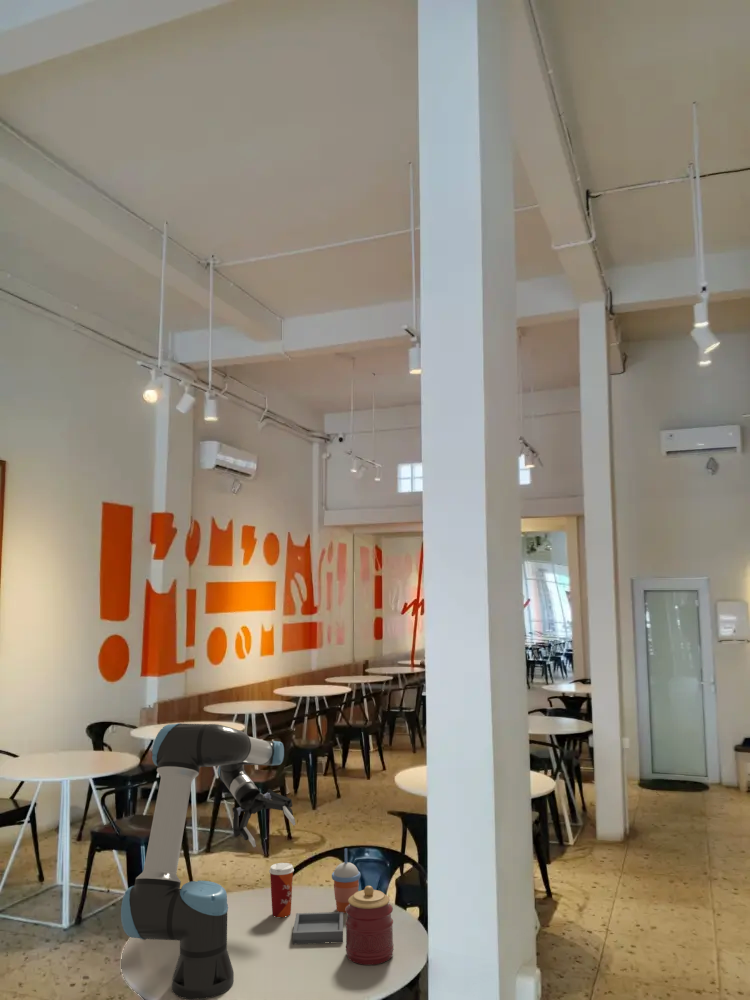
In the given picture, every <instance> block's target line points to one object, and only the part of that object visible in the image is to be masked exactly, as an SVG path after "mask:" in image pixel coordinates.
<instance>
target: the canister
mask: <svg viewBox="0 0 750 1000" xmlns="http://www.w3.org/2000/svg"><path fill="white" fill-rule="evenodd" d="M348 902H349V905H348V906H347V907H346V909H345V911H346V913H345V914H346V915H347V917H346V919H345V921H344V922H345V933H346V935H345V937H346V938H345V939H346V942H345V943H346V944H345V953H346V957H347V960H349V961H350V962H353V963H356V964H358V965H366V966H367V965H368V966H373V965H374V966H375V965H380V964H383V963H385V961H386V962H387V961H389V960H391V958H392V957H393V955H394V939H393V938H394V935H393V929H394V928H393V924H394V920H393V917H392V912H393V910H394V908H393V906H392V904H391V903H390V896H388V894H385V893H384V892H383V891H381V890H379V889H378V890H377V889H374V888H373V886H371V885H366V886H365V887H364V889H362V890H358V892H356V893H355V894H354V895H352V896H351V897H350V898H349V899H348Z"/></svg>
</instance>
